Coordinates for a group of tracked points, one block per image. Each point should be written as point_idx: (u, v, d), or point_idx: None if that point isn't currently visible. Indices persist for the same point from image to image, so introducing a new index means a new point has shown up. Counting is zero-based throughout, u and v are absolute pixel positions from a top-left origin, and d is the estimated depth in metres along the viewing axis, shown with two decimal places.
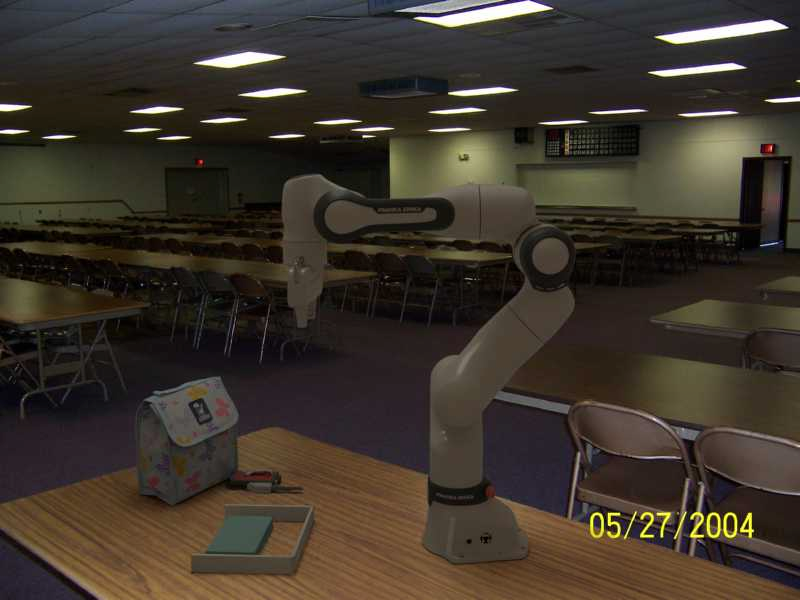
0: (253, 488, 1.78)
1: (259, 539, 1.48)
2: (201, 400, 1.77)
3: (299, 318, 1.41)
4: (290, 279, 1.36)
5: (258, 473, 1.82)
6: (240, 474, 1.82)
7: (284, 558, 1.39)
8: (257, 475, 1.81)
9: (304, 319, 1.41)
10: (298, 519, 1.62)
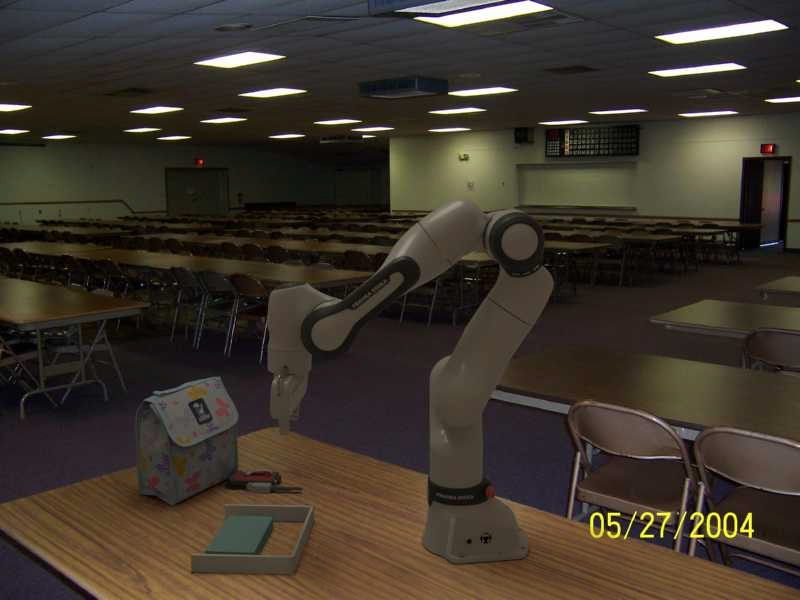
0: (252, 488, 1.78)
1: (258, 539, 1.48)
2: (201, 400, 1.77)
3: (282, 426, 1.42)
4: (273, 391, 1.37)
5: (258, 473, 1.82)
6: (240, 474, 1.82)
7: (284, 558, 1.39)
8: (256, 475, 1.81)
9: (286, 427, 1.42)
10: (298, 519, 1.62)
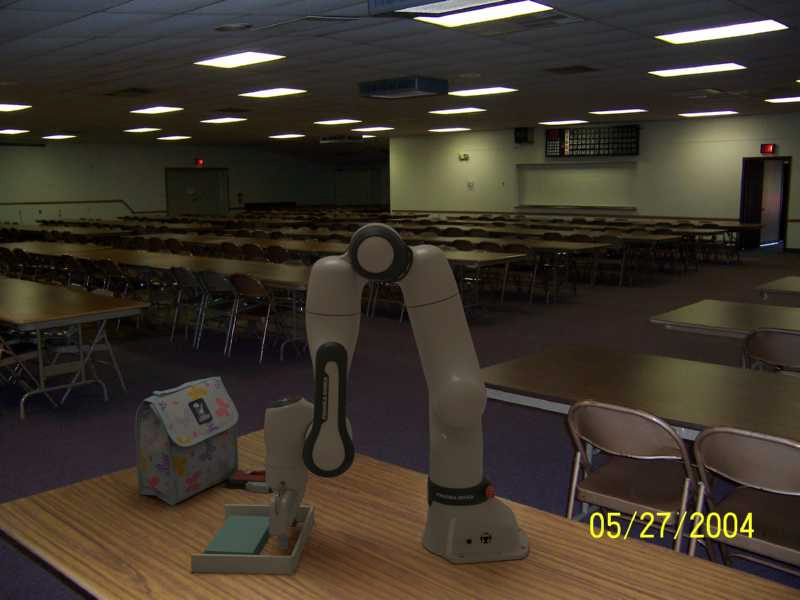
0: (251, 488, 1.78)
1: (258, 539, 1.48)
2: (201, 400, 1.77)
3: (281, 540, 1.45)
4: (271, 510, 1.40)
5: (258, 473, 1.83)
6: (240, 473, 1.83)
7: (284, 558, 1.39)
8: (256, 475, 1.81)
9: (285, 541, 1.45)
10: (298, 519, 1.62)
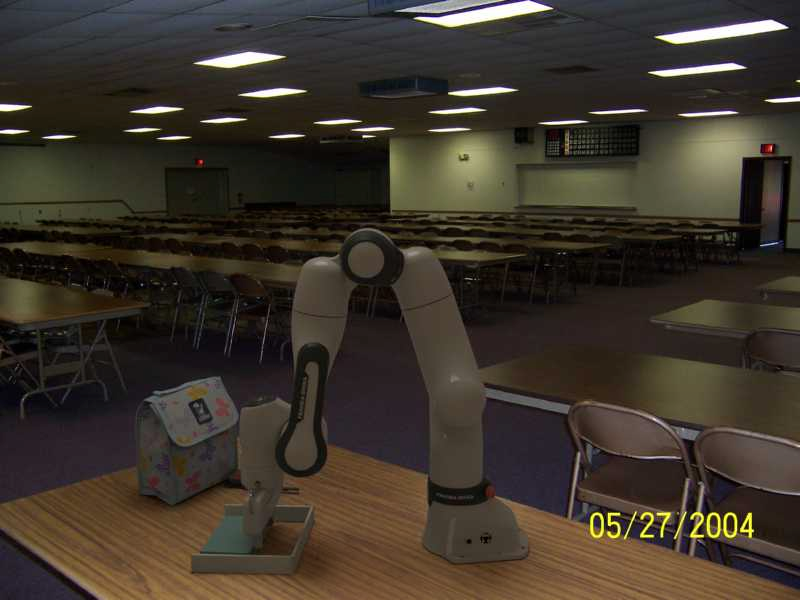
0: None
1: None
2: (201, 400, 1.77)
3: (255, 539, 1.45)
4: (245, 509, 1.40)
5: None
6: (240, 473, 1.83)
7: (284, 558, 1.39)
8: None
9: (260, 540, 1.45)
10: (298, 519, 1.62)
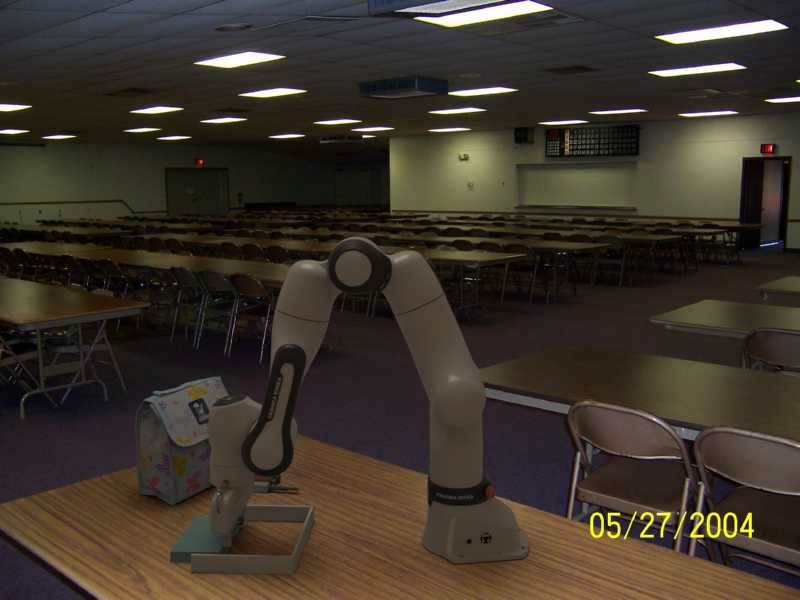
0: None
1: None
2: (201, 400, 1.77)
3: (224, 538, 1.45)
4: (212, 508, 1.40)
5: None
6: None
7: (284, 558, 1.39)
8: (255, 474, 1.82)
9: (229, 539, 1.46)
10: (298, 519, 1.62)
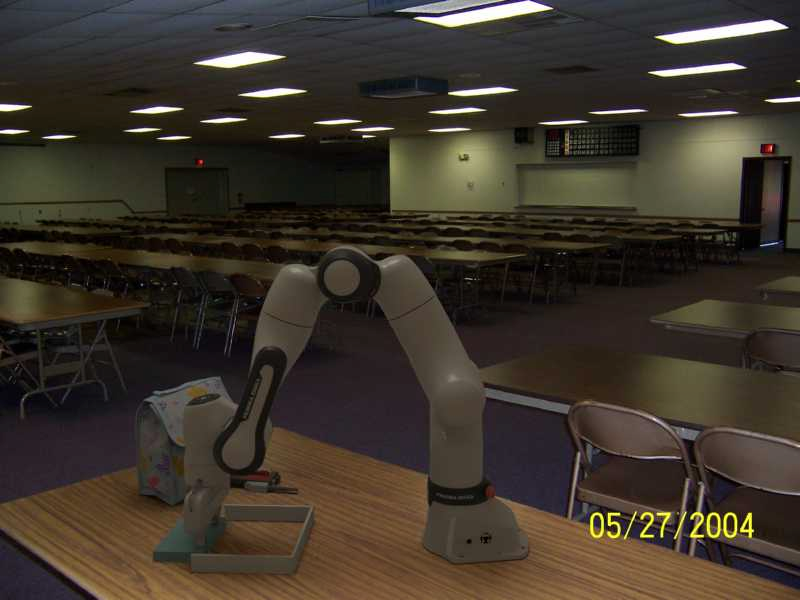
0: (250, 487, 1.78)
1: (208, 539, 1.49)
2: None
3: (198, 537, 1.46)
4: (185, 507, 1.41)
5: (257, 473, 1.83)
6: None
7: (284, 558, 1.39)
8: (255, 475, 1.82)
9: (202, 538, 1.46)
10: (298, 519, 1.62)
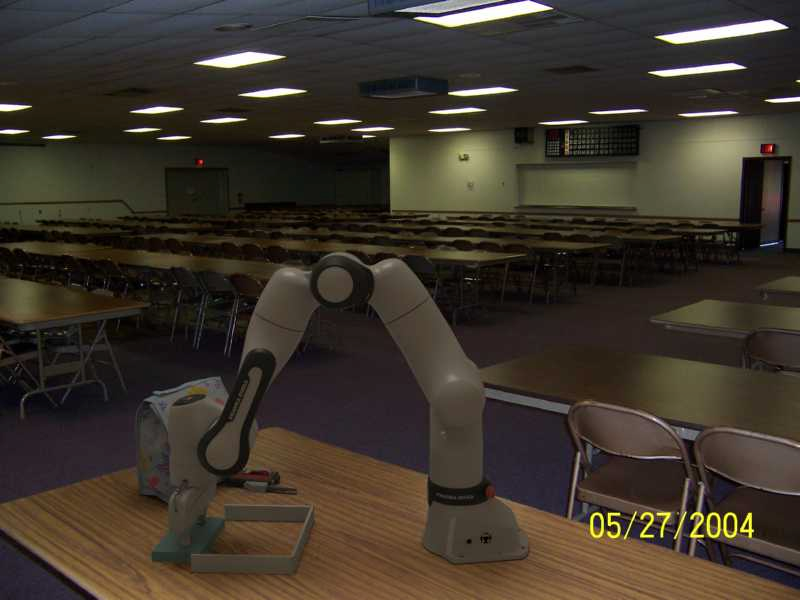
0: (249, 487, 1.79)
1: (206, 540, 1.49)
2: None
3: (183, 538, 1.46)
4: (170, 508, 1.41)
5: (257, 472, 1.83)
6: (240, 472, 1.83)
7: (284, 558, 1.39)
8: (255, 474, 1.82)
9: (188, 538, 1.46)
10: (298, 519, 1.62)
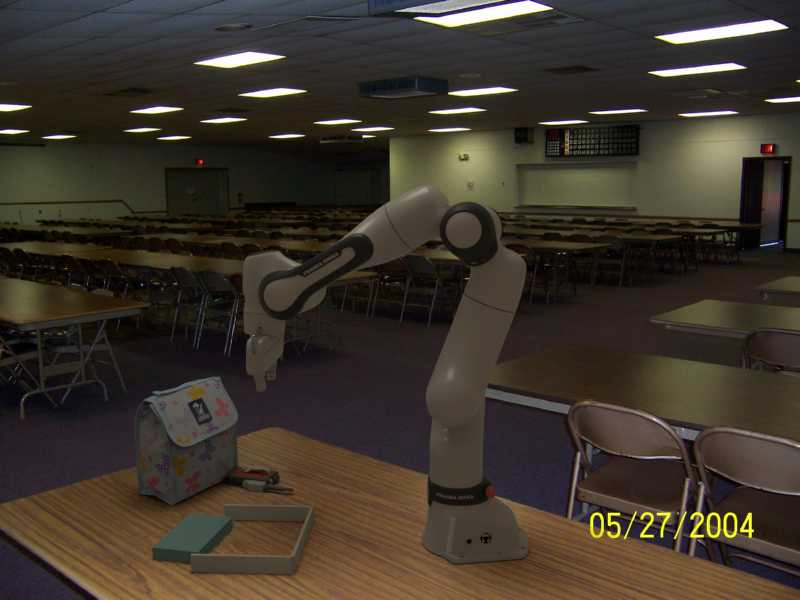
0: (247, 486, 1.79)
1: (208, 539, 1.48)
2: (201, 400, 1.77)
3: (258, 383, 1.54)
4: (248, 349, 1.49)
5: (257, 471, 1.84)
6: (240, 470, 1.84)
7: (284, 558, 1.39)
8: (254, 473, 1.82)
9: (262, 384, 1.54)
10: (298, 519, 1.62)
